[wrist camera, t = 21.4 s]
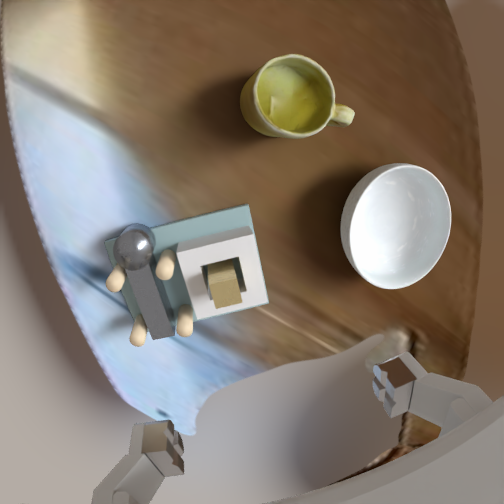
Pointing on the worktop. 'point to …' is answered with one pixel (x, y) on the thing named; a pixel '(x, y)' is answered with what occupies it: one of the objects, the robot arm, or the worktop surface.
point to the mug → (292, 99)
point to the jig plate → (171, 242)
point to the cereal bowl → (395, 225)
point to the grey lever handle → (145, 279)
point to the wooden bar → (223, 284)
